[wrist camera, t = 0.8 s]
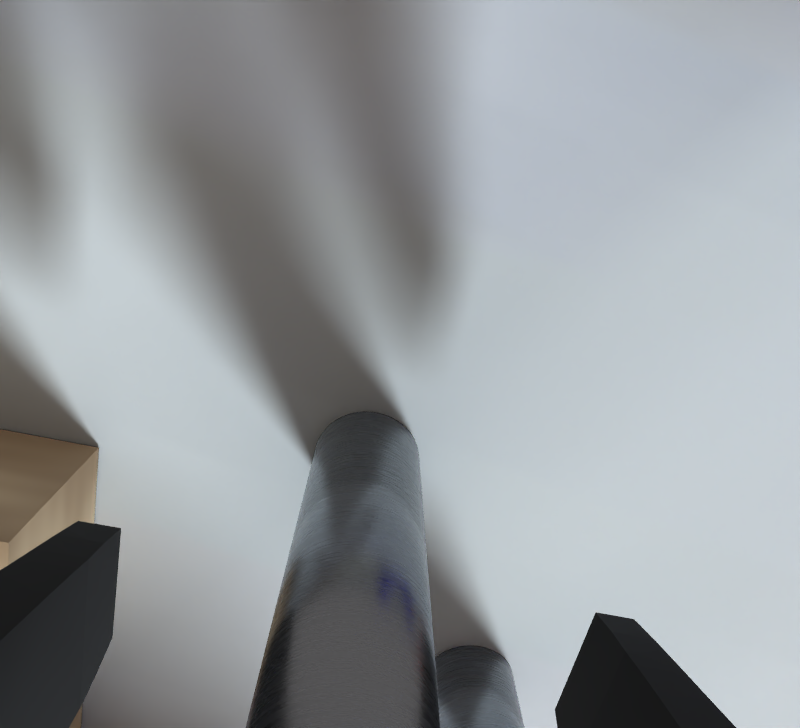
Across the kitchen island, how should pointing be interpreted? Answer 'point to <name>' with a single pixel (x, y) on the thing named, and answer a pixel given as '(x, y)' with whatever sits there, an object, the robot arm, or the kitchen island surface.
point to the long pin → (354, 591)
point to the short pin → (476, 690)
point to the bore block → (43, 493)
